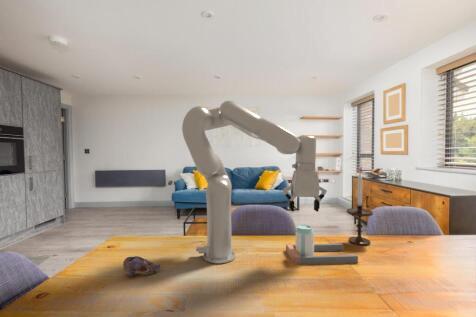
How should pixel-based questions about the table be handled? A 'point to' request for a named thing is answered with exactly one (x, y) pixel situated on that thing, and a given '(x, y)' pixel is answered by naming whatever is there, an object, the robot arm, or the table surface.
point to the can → (305, 240)
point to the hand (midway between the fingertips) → (304, 210)
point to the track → (321, 259)
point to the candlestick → (359, 216)
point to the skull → (139, 266)
